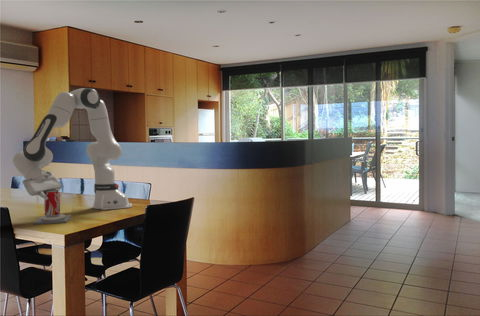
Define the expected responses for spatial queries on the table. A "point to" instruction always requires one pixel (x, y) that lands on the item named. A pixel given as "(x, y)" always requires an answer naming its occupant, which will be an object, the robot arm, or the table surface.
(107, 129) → the robot arm
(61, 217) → the slate can stand
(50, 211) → the soda can
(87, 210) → the table surface
